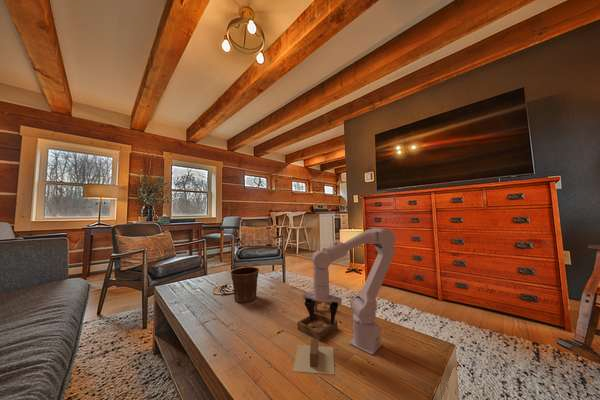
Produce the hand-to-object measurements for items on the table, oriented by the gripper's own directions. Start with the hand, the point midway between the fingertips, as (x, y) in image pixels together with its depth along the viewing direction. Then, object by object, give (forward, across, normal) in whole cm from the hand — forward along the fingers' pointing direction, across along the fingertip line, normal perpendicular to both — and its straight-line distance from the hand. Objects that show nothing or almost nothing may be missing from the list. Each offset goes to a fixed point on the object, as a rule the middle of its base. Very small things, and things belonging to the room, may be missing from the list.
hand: (322, 321), depth 78 cm
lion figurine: (+10, +10, -28) cm, 31 cm away
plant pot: (+9, +55, -26) cm, 61 cm away
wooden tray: (+9, +6, -11) cm, 15 cm away
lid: (+10, +1, +7) cm, 12 cm away
